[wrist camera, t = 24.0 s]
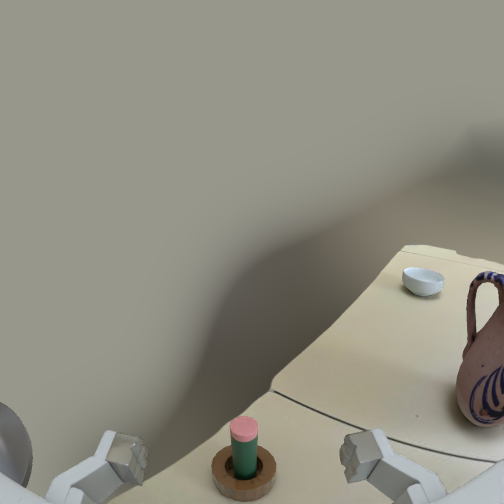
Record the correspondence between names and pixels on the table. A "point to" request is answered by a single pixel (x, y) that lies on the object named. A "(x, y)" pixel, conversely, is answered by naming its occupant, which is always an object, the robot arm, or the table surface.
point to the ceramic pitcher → (483, 361)
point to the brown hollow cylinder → (241, 488)
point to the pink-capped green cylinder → (244, 447)
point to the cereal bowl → (422, 281)
